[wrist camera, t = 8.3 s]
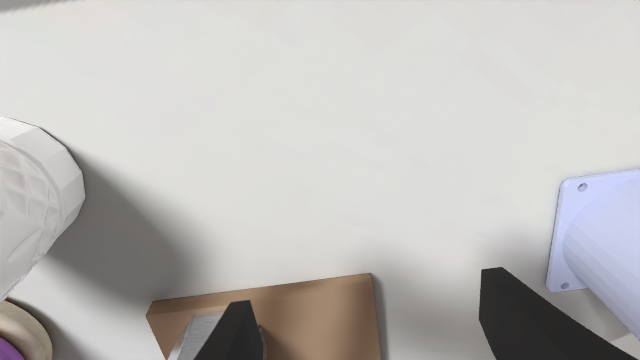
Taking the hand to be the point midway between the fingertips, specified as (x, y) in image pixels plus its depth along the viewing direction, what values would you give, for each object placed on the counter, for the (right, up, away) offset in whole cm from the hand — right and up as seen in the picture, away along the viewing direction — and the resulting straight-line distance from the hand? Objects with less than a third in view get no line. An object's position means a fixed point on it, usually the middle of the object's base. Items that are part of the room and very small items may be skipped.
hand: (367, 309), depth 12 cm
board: (-4, -8, +15) cm, 17 cm away
